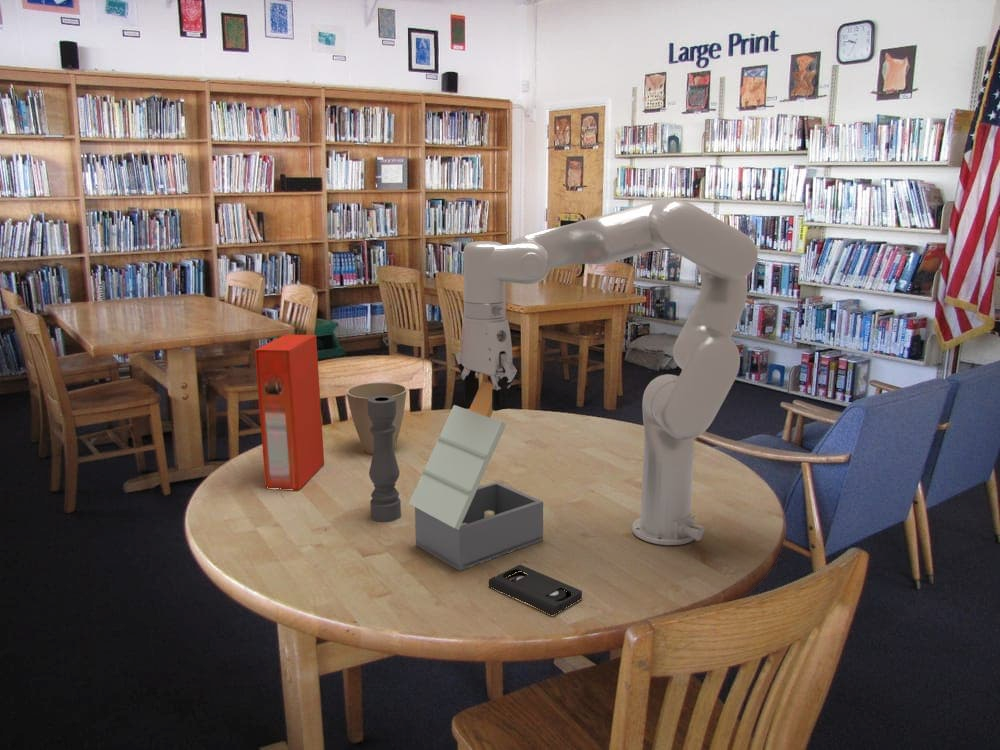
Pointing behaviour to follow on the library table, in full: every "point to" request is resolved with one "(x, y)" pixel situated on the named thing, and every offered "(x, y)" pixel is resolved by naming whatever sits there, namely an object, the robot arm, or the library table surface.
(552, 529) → the library table surface
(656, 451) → the robot arm
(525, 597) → the vhs tape
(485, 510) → the tub
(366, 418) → the plant pot
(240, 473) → the library table surface
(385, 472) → the candle holder
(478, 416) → the lid
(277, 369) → the file binder
